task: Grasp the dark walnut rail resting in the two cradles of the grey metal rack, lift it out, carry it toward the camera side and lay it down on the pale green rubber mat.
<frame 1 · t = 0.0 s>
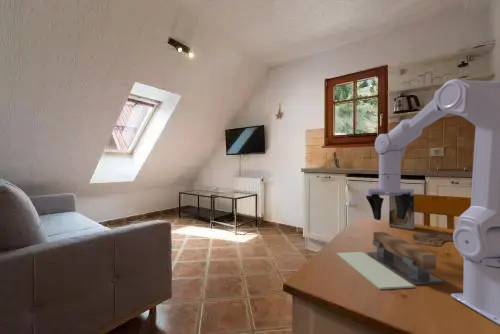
hand: (389, 219, 73), 10 cm above the table, tool pointing down, fingers open, 7 cm apart
wooden fragment: (433, 239, 88), on the table
rail: (400, 254, 63), point 3 cm above the table, touching rack
rack: (400, 266, 63), on the table
mat: (369, 268, 62), on the table
coffee box: (401, 227, 103), on the table
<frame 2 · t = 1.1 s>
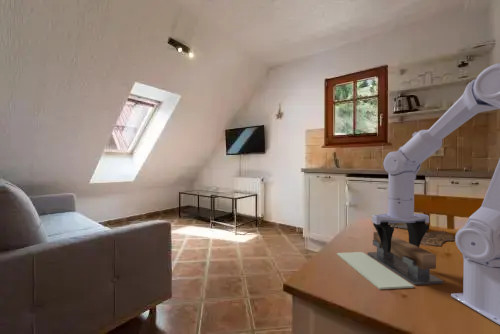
hand: (400, 250, 63), 4 cm above the table, tool pointing down, fingers open, 7 cm apart
nothing on the table moved.
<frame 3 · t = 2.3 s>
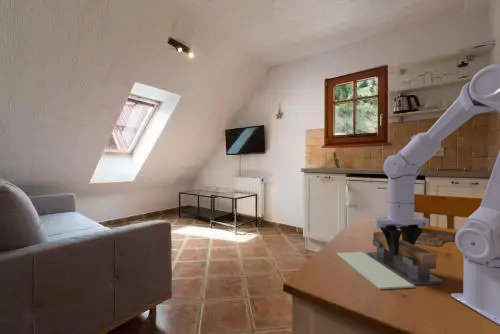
hand: (400, 254, 63), 3 cm above the table, tool pointing down, fingers closed on rail, 3 cm apart
rail: (400, 254, 63), point 3 cm above the table, touching gripper, rack
everything else where it was.
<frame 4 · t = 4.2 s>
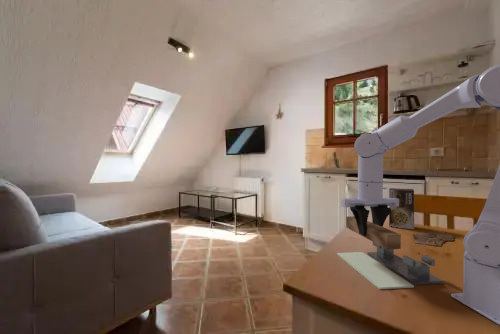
hand: (369, 234, 62), 9 cm above the table, tool pointing down, fingers closed on rail, 3 cm apart
rail: (369, 236, 62), point 8 cm above the table, touching gripper
everything else where it was.
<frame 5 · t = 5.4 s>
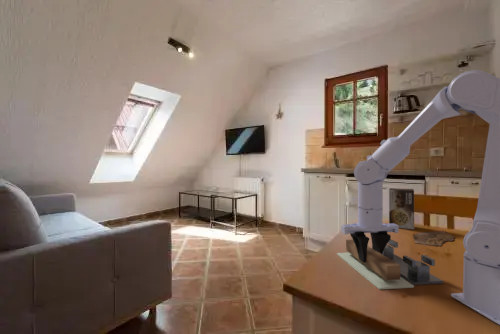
hand: (369, 260, 62), 2 cm above the table, tool pointing down, fingers closed on rail, 3 cm apart
rail: (369, 262, 62), point 1 cm above the table, touching gripper
everything else where it was.
when the fingers open (2 cm above the table, at t = 6.1 s): rail stays where it is, resting on mat.
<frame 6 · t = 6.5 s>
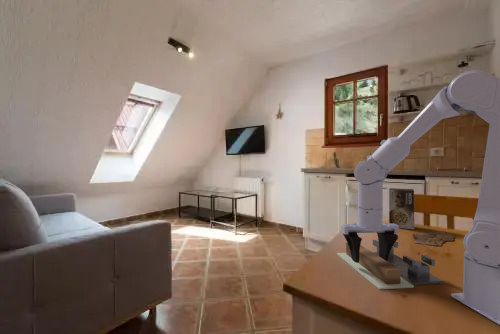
hand: (369, 260, 62), 2 cm above the table, tool pointing down, fingers open, 7 cm apart
rail: (369, 266, 62), resting on mat
everything else where it was.
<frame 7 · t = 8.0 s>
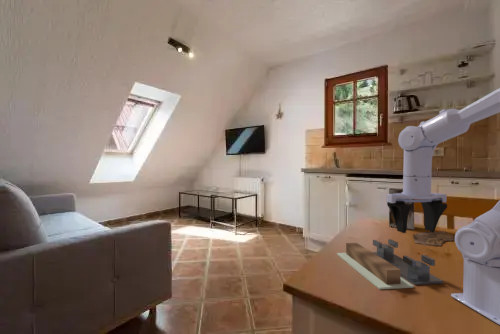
hand: (415, 231, 60), 10 cm above the table, tool pointing down, fingers open, 7 cm apart
nothing on the table moved.
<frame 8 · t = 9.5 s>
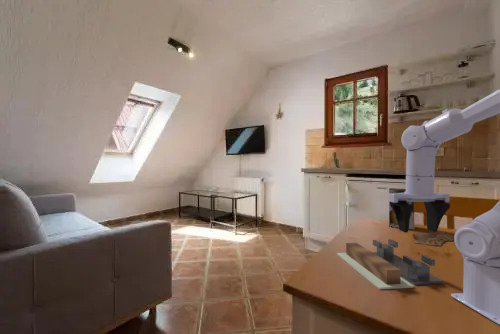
hand: (417, 230, 60), 10 cm above the table, tool pointing down, fingers open, 7 cm apart
nothing on the table moved.
at the end: rail inside the target area on the mat (0.0 cm from its centre), point 0.4 cm above the mat's base; the gripper is holding nothing; rail touching mat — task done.
